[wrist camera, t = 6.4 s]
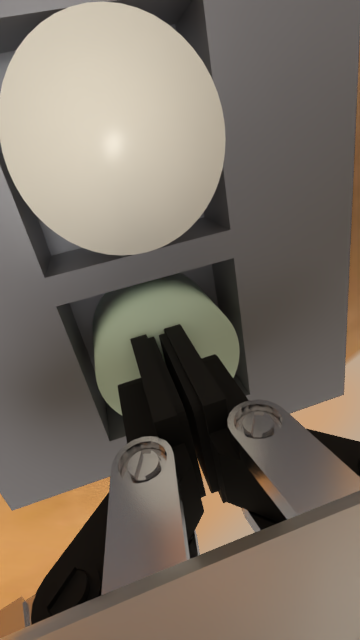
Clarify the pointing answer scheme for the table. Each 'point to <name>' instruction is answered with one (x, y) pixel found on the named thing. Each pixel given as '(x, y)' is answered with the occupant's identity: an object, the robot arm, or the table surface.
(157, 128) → the cream button
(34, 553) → the table surface
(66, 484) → the console
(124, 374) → the sage button
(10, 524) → the table surface
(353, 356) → the table surface
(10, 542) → the table surface
